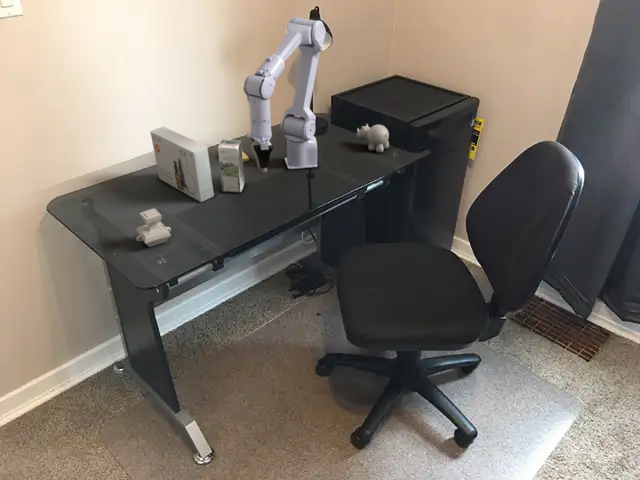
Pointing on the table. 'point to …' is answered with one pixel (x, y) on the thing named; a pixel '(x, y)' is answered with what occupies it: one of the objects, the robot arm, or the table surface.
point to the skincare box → (183, 163)
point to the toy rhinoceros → (375, 137)
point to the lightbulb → (261, 170)
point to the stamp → (152, 228)
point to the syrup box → (231, 165)
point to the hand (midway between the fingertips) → (262, 162)
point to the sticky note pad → (245, 157)
